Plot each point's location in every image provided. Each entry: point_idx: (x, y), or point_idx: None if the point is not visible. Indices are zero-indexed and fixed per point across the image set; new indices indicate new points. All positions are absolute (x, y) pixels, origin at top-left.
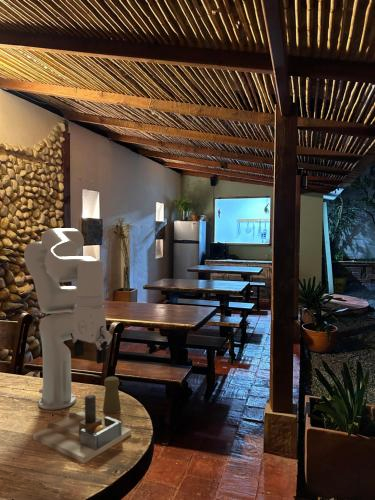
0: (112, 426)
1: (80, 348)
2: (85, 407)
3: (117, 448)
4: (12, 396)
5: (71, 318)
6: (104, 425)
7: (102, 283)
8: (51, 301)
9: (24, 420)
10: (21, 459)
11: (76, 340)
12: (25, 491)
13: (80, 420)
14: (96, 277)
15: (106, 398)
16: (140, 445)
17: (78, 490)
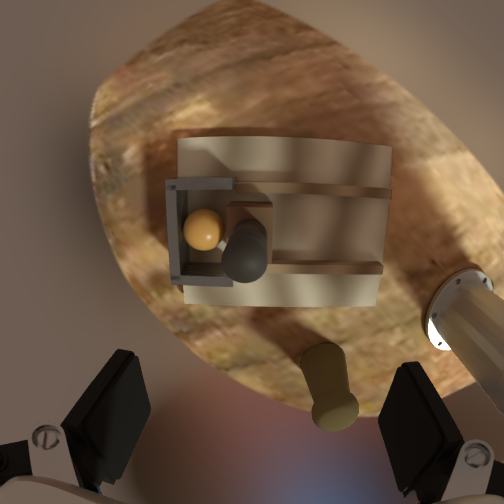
0: (169, 249)
1: (401, 439)
2: (253, 231)
3: (165, 232)
4: None
5: None
6: (198, 244)
7: None
8: None
9: (467, 205)
10: (326, 70)
11: (449, 479)
12: (209, 15)
13: (332, 262)
14: None
15: (332, 369)
16: (136, 271)
17: (123, 79)
